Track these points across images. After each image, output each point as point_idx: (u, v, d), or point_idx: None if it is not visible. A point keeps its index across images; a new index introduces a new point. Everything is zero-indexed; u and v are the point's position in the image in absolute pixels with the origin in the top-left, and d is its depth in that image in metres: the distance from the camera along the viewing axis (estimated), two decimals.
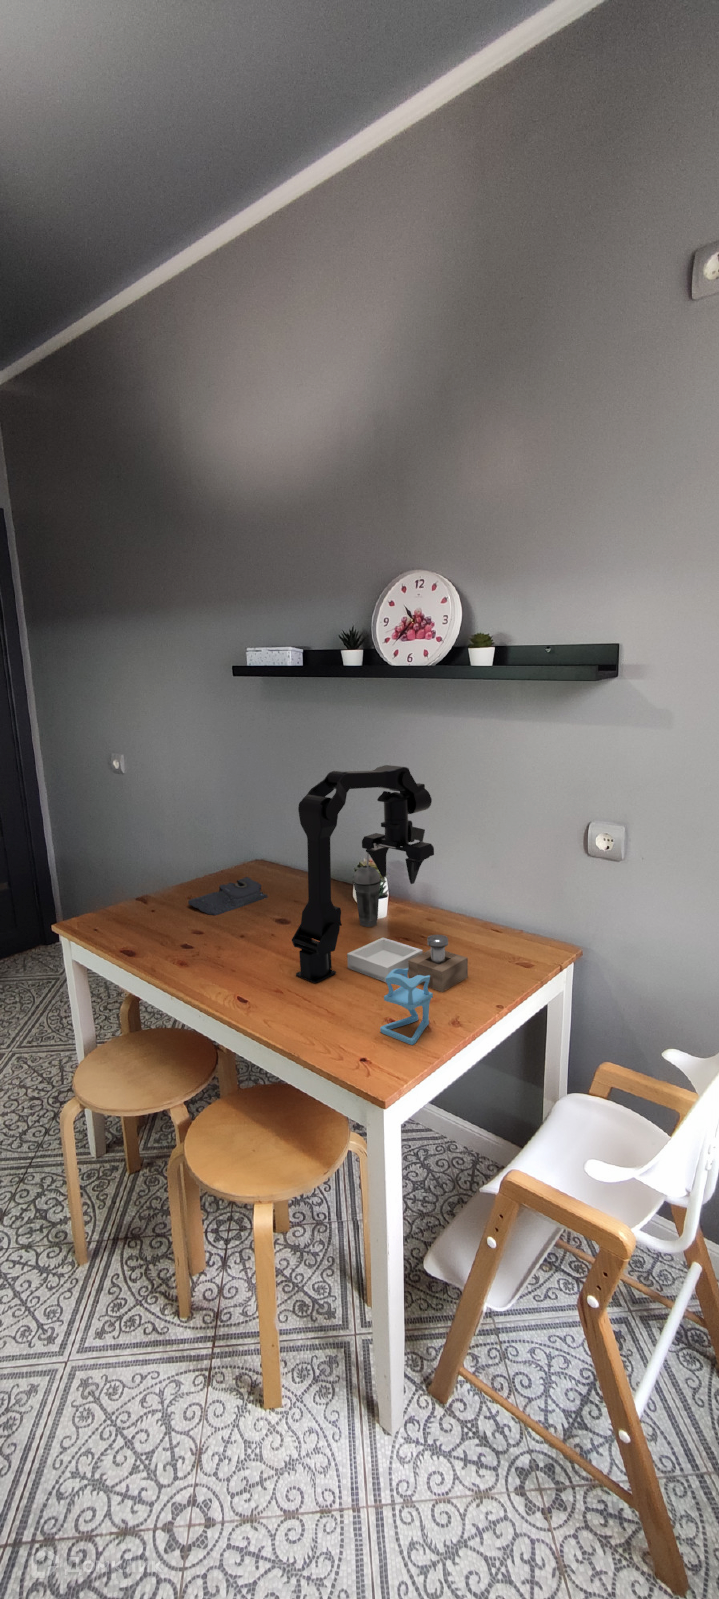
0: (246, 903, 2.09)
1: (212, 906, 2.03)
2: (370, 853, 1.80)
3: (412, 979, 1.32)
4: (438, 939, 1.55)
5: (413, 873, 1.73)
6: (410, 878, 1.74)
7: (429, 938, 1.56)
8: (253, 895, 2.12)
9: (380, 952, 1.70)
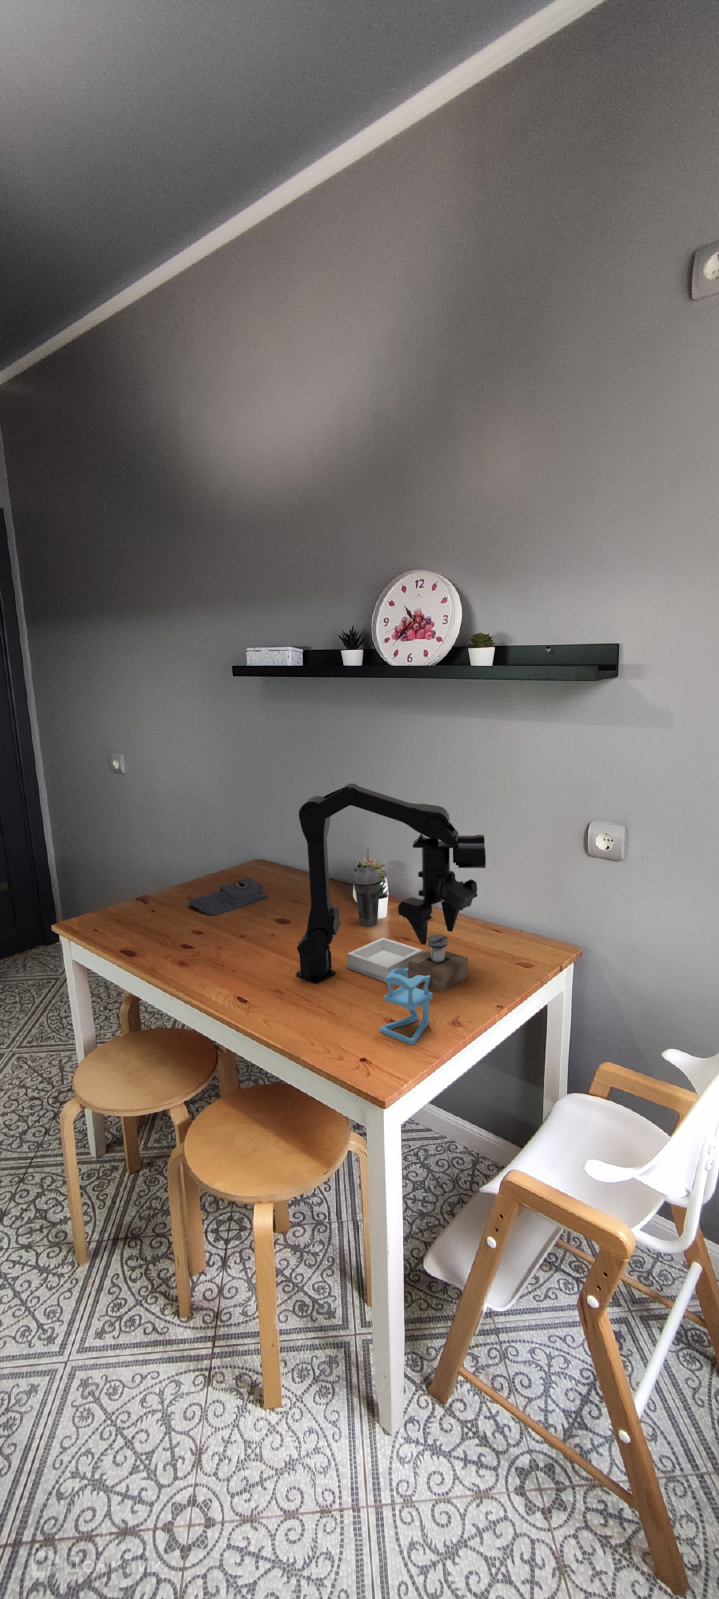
0: (246, 904, 2.08)
1: (212, 907, 2.03)
2: None
3: (412, 979, 1.32)
4: (438, 939, 1.55)
5: (416, 930, 1.52)
6: None
7: (429, 938, 1.56)
8: (253, 896, 2.12)
9: (380, 952, 1.70)
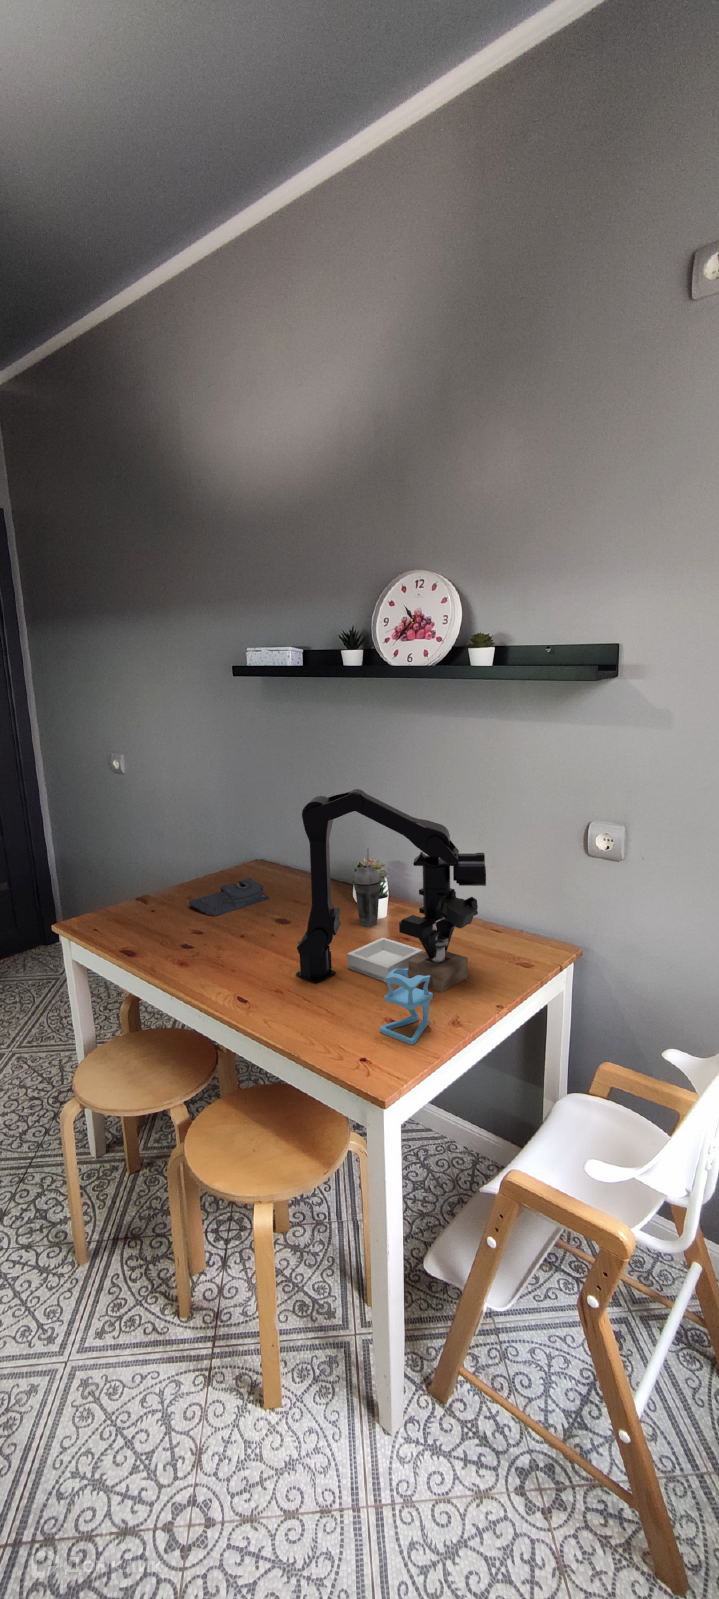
0: (247, 904, 2.08)
1: (212, 907, 2.03)
2: None
3: (412, 979, 1.32)
4: (438, 939, 1.55)
5: (424, 944, 1.54)
6: None
7: None
8: (254, 896, 2.11)
9: (380, 952, 1.70)
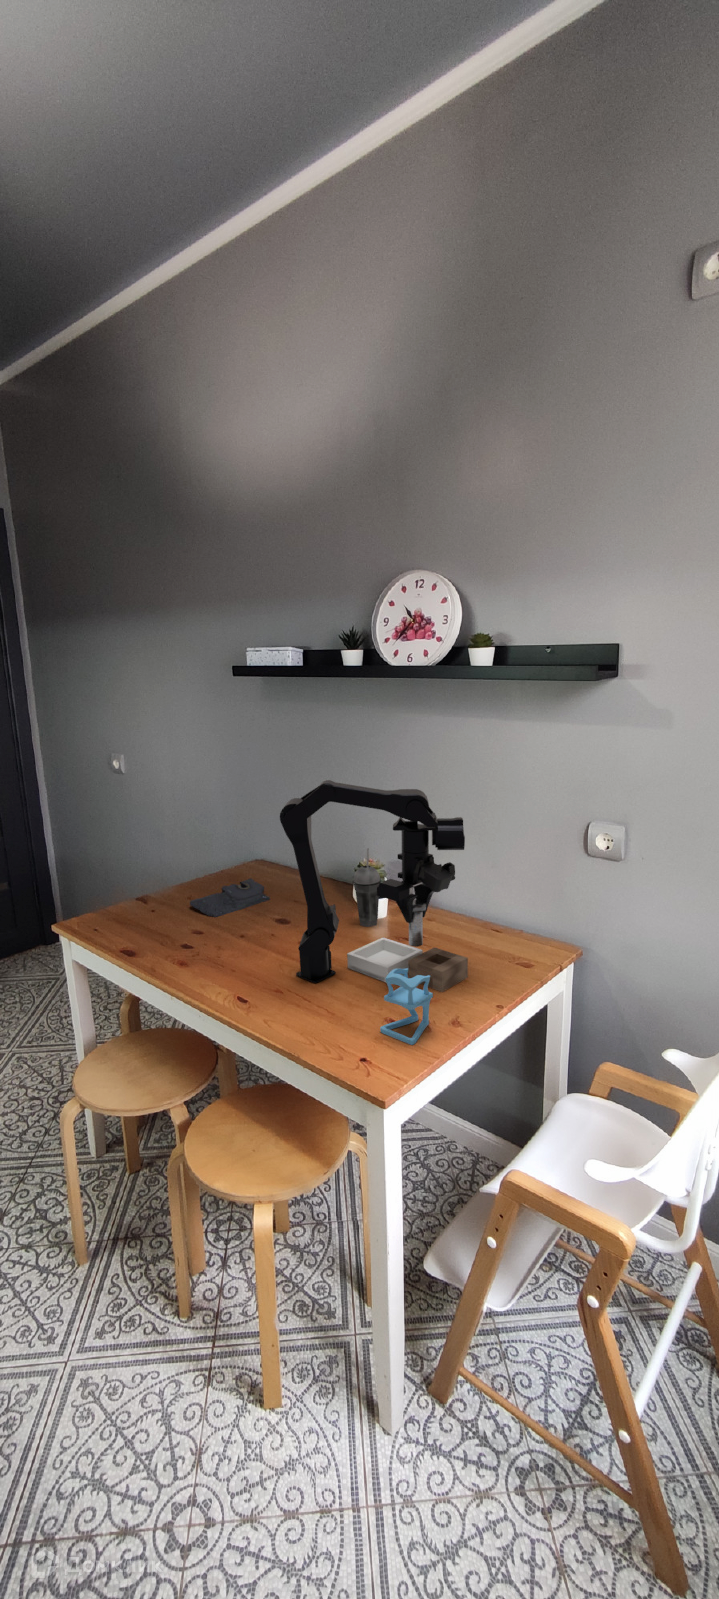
0: (247, 905, 2.07)
1: (212, 908, 2.02)
2: None
3: (412, 979, 1.32)
4: (415, 904, 1.57)
5: (401, 909, 1.55)
6: None
7: None
8: (255, 897, 2.10)
9: (380, 952, 1.70)
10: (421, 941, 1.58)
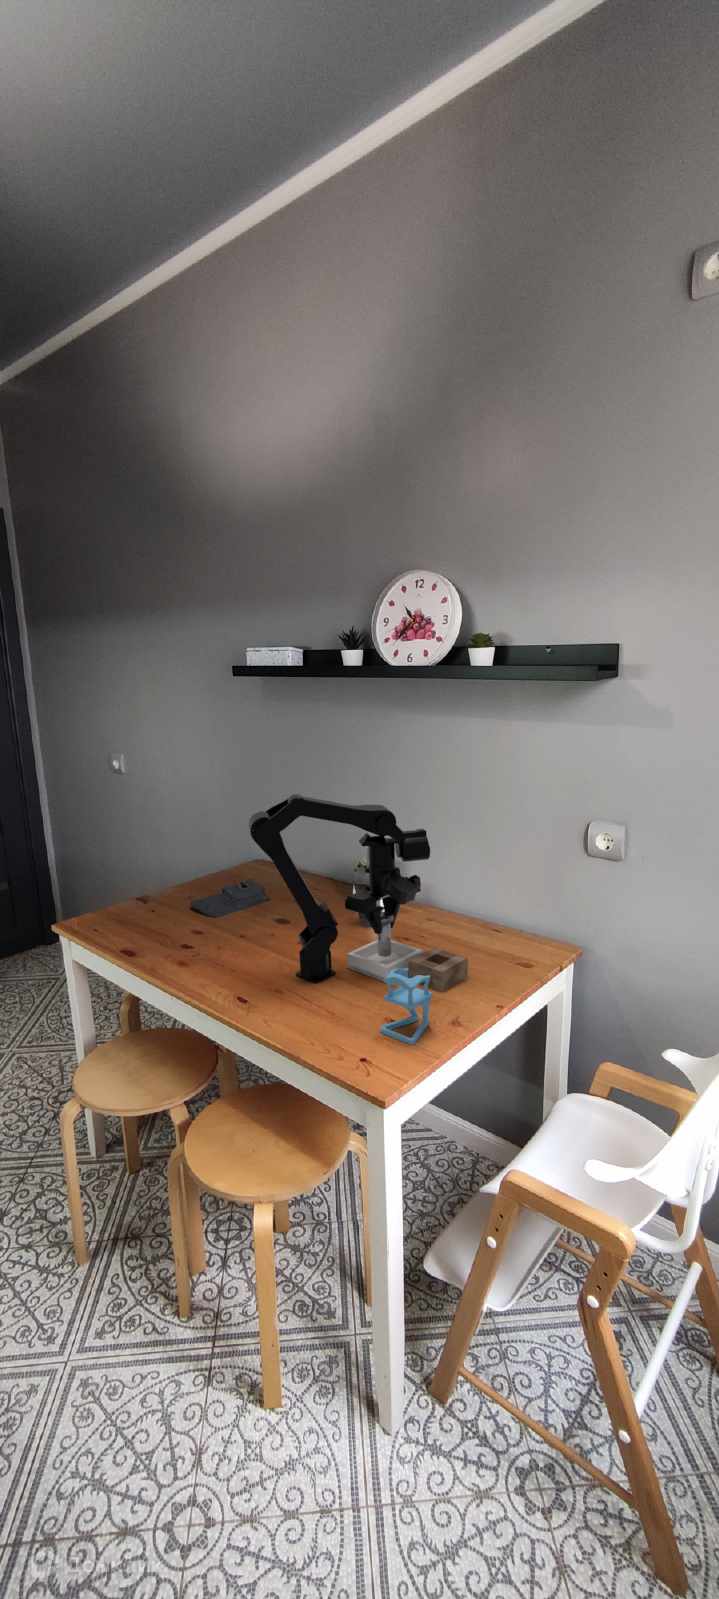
0: (248, 905, 2.07)
1: (212, 908, 2.02)
2: None
3: (412, 979, 1.32)
4: (383, 915, 1.62)
5: (370, 920, 1.61)
6: None
7: None
8: (255, 898, 2.10)
9: None
10: (390, 951, 1.63)
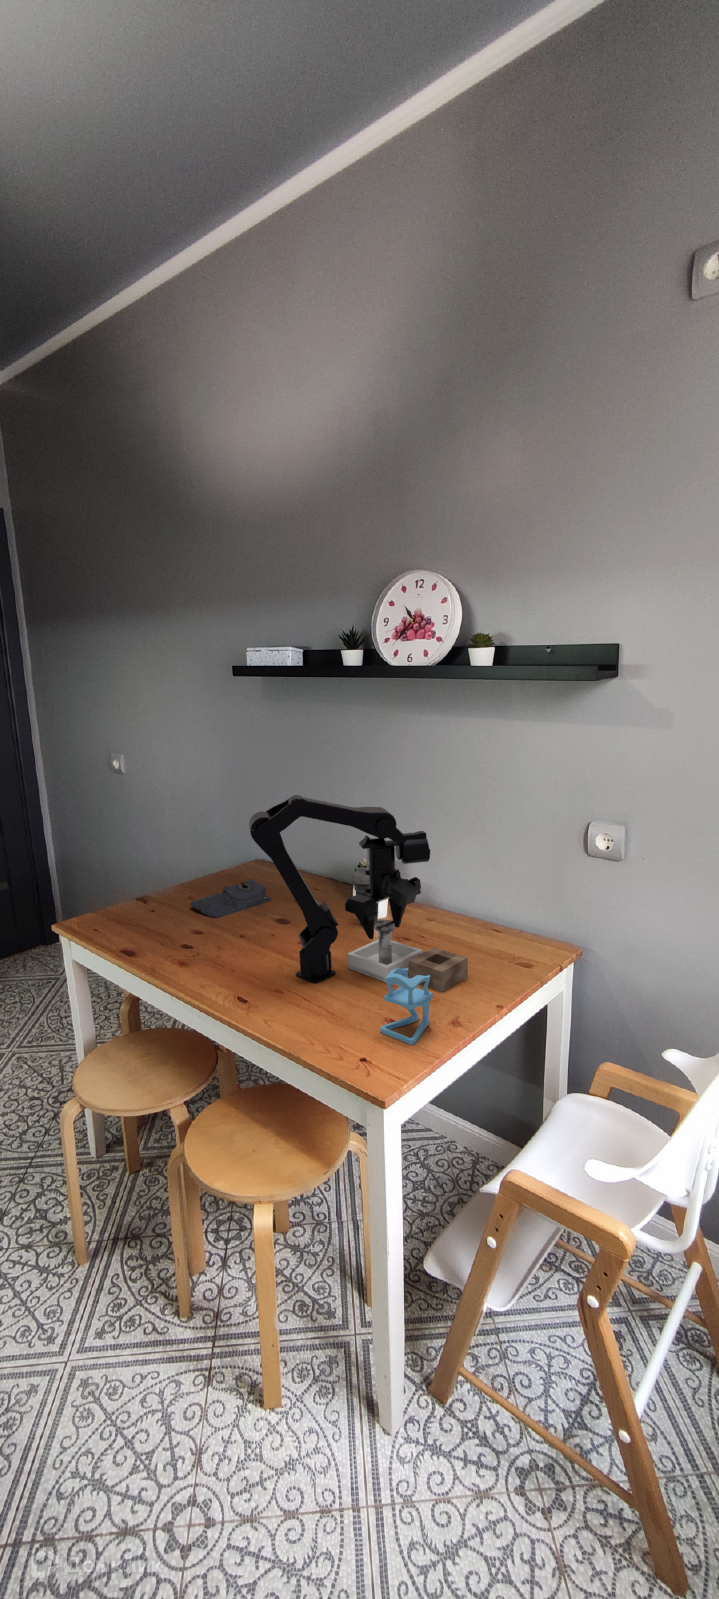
0: (248, 906, 2.06)
1: (213, 908, 2.01)
2: None
3: (412, 979, 1.32)
4: (385, 923, 1.62)
5: (363, 925, 1.59)
6: None
7: (377, 923, 1.63)
8: (256, 898, 2.09)
9: None
10: (390, 959, 1.64)
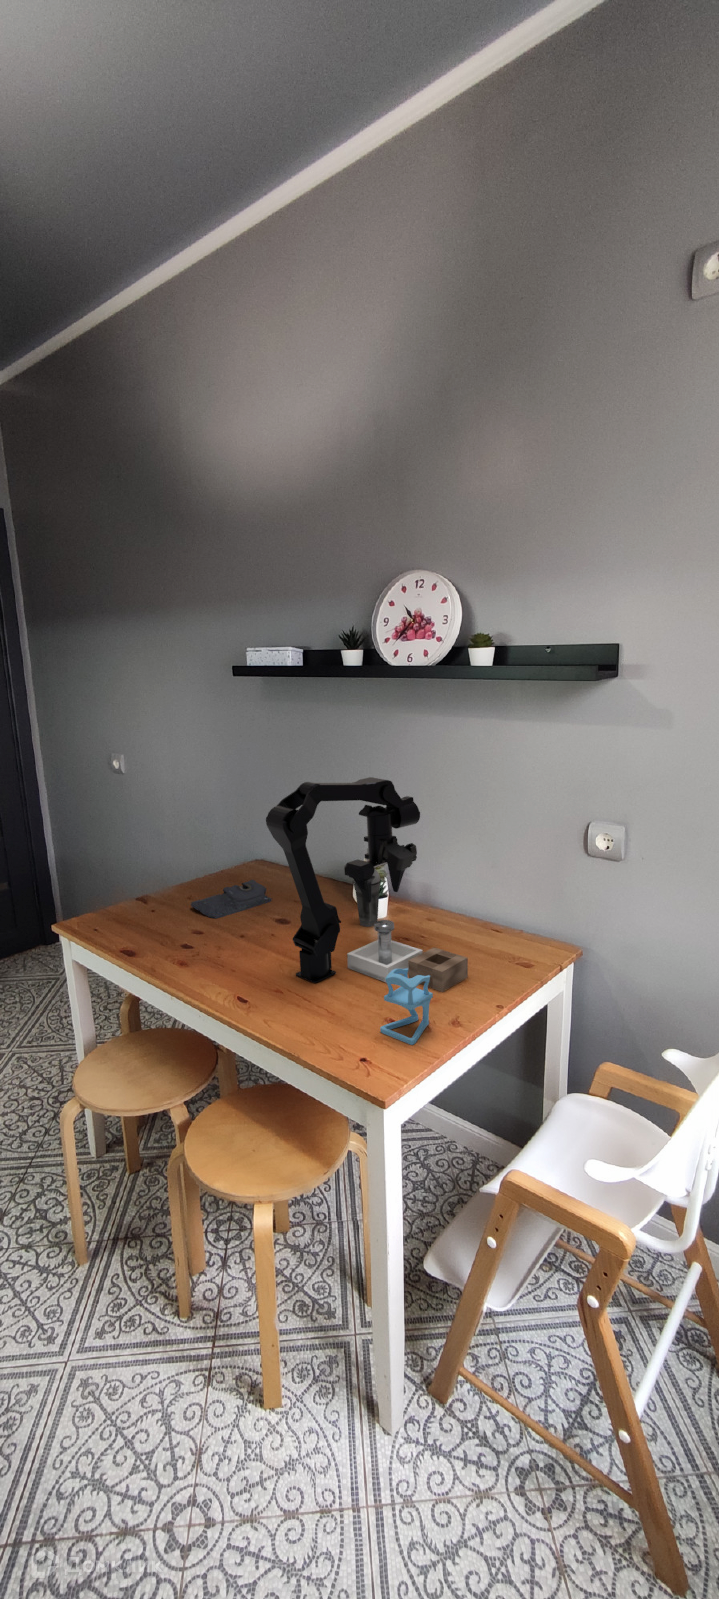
0: (249, 906, 2.06)
1: (213, 909, 2.01)
2: None
3: (412, 979, 1.32)
4: (384, 924, 1.62)
5: (361, 889, 1.67)
6: None
7: (376, 923, 1.63)
8: (256, 899, 2.09)
9: None
10: (390, 959, 1.63)
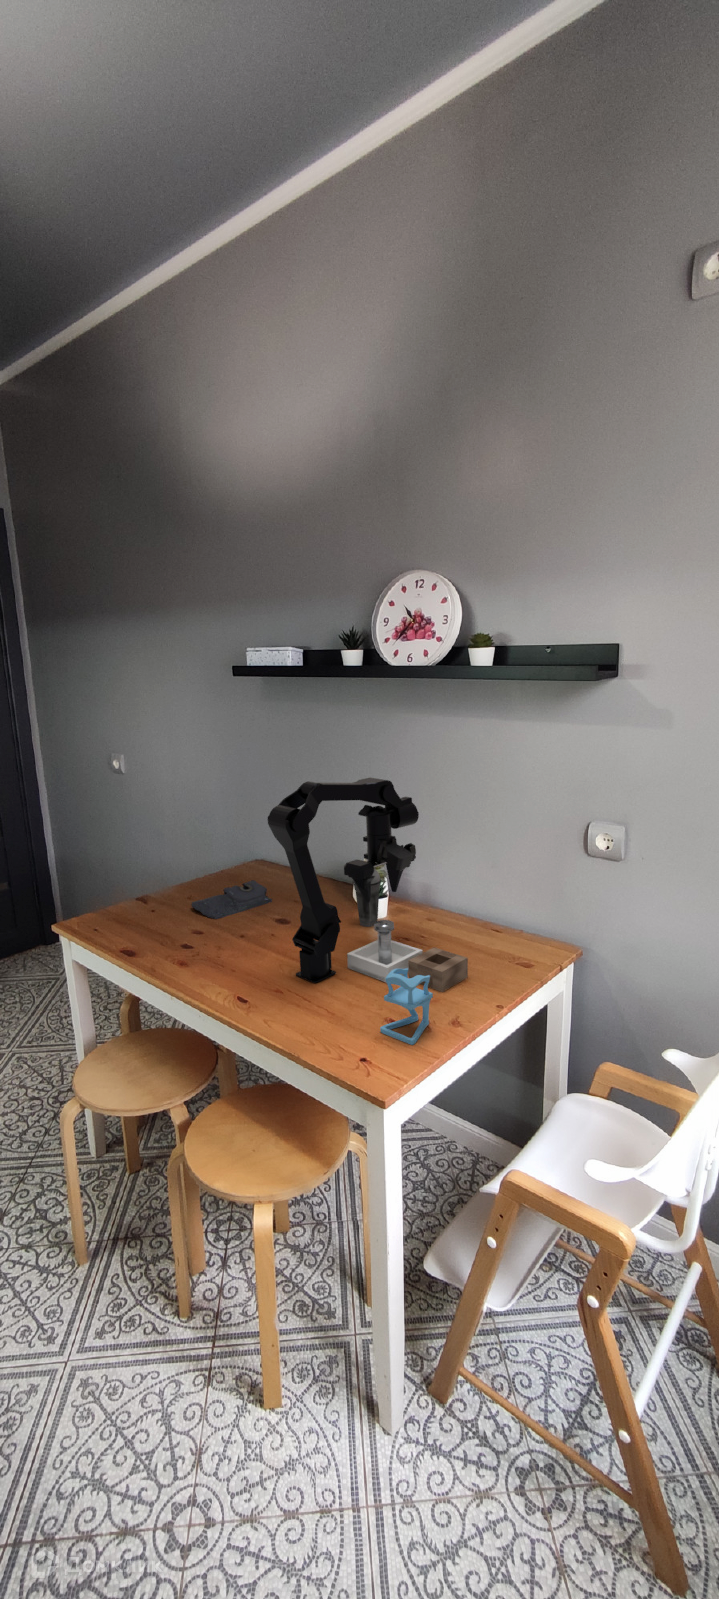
0: (249, 907, 2.05)
1: (213, 910, 2.01)
2: None
3: (412, 979, 1.32)
4: (384, 924, 1.62)
5: (360, 889, 1.68)
6: None
7: (376, 923, 1.63)
8: (256, 899, 2.09)
9: None
10: (390, 959, 1.64)
